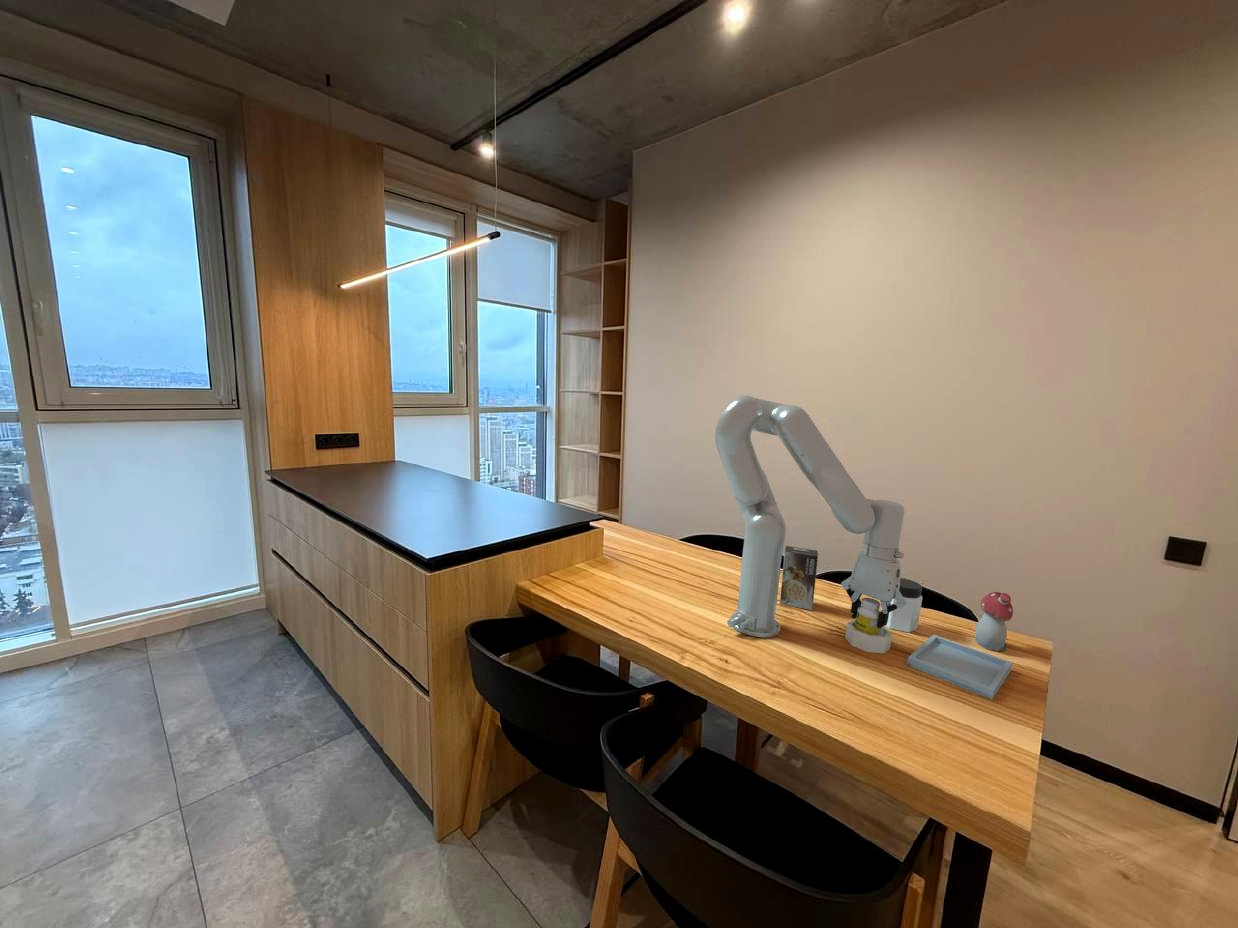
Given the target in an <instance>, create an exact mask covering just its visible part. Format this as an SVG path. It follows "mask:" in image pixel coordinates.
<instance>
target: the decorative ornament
mask: <svg viewBox="0 0 1238 928" xmlns="http://www.w3.org/2000/svg"><path fill="white" fill-rule="evenodd" d="M1011 601H1012V597H1011V596H1010V595H1009V594H1007V593H1005V592H999V591H991V592H989V593H988V594H985V596H983V598H982V599H981V600H980V609H981V610H982V611H983V612H984V614H983V615H982V616H981V618H979V620H978V621H977V624H976V627H975V641H976V642H977V644H979V645H980V646H982V647H983V648H985V649H987V650H989V651H995V652H1004V651H1006V650H1007V645H1006V644H1007V643H1006V641H1007V637H1008V636H1007V635H1008V632H1007V625H1006V622H1009V621H1010V620H1011V619H1012V618H1013V615H1014V608H1013V605H1012V602H1011Z"/></svg>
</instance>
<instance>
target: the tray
mask: <svg viewBox="0 0 1238 928" xmlns="http://www.w3.org/2000/svg"><path fill="white" fill-rule="evenodd" d="M906 665H907V666H908V667H911V668H913V669H915V670H919V671H921V672H923V673H925V674H927V675H930V676H932V677H935V678H938V679H940V680H942V681H945V682H947V683H950V684H952V685H954V686H957V687H959V688H962V689H964V690H966V691H969V692H972V693H974V694H977V695H980V696H982V697H984V698H987V699H989V700H993V699H994V698H995V696H996V694H997V693H998V691H999V690H1000V689H1001V687H1002V685H1003V683H1004V682H1005V681H1006V679H1007V677H1009V674H1010V673H1011V671H1012V667H1013V662H1012V661H1009V660H1006V659H1003V658H1001V657H998V656H995V655H993V654H990V653H987V652H984V651H981V650H978V649H976V648H972V647H970V646H968V645H964V644H961V643H959V642H956V641H953V640H950V639H947V638H945V637H941V636H938V635H936V634H932V635H931V636H930V637H928V638H927V640H925V641H924V642H923V643H922V644H921V645H920V646H918V648H916V649H915V650H914V651H913V652H912V653H911V654H910V655H908V657H907V664H906Z"/></svg>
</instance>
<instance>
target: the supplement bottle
mask: <svg viewBox="0 0 1238 928" xmlns="http://www.w3.org/2000/svg"><path fill="white" fill-rule="evenodd" d="M861 602H862V603H861V606H860V607H858V609H857V615H856V618H855V619H856V621H855V629H856V630H858V631H861V632H864V633H866V634H869V635H877V636H878V635H879V628H878V627H877V624H878V618H879V613H880V612H881V610H879V609H880V608H881V602H880V600H878V599H875V598H872V597H863V598H862V599H861Z"/></svg>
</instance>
